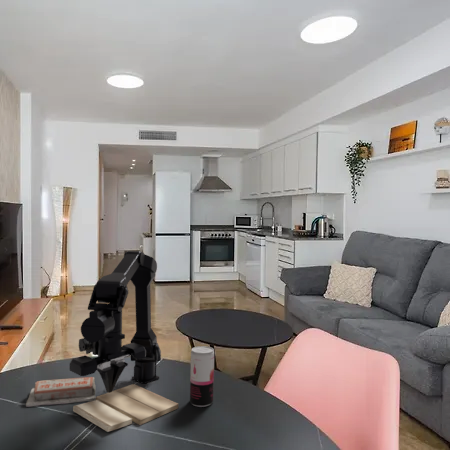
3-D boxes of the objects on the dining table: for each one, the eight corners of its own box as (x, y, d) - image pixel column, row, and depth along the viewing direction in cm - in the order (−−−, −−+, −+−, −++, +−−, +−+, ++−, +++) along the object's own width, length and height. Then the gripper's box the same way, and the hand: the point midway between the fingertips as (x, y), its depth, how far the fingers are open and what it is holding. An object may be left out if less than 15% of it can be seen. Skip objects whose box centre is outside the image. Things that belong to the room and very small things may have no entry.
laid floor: (133, 387, 128) (133, 383, 128) (178, 408, 115) (178, 403, 115) (95, 401, 118) (95, 396, 118) (140, 425, 105) (140, 420, 105)
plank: (96, 404, 116) (96, 399, 116) (131, 423, 106) (132, 418, 106) (72, 410, 111) (73, 406, 111) (107, 432, 100) (108, 426, 100)
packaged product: (96, 372, 128) (95, 385, 119) (95, 388, 128) (95, 402, 119) (31, 377, 123) (25, 391, 114) (31, 393, 123) (25, 408, 114)
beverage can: (217, 403, 118) (218, 350, 118) (198, 409, 114) (199, 354, 114) (204, 395, 124) (205, 344, 123) (185, 401, 120) (186, 348, 119)
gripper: (122, 317, 117) (121, 373, 118) (58, 331, 103) (57, 394, 104) (147, 325, 110) (146, 384, 110) (82, 340, 96) (81, 408, 96)
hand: (109, 392), depth 105 cm, fingers closed
